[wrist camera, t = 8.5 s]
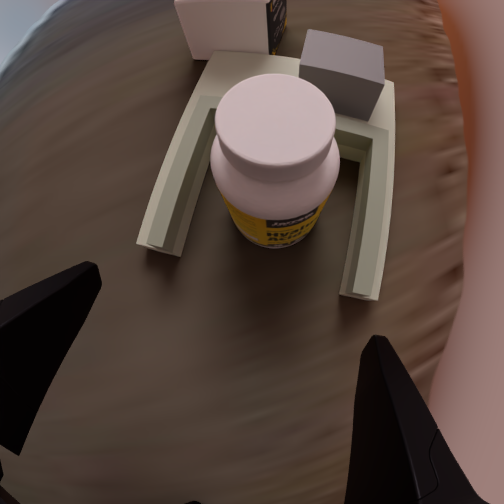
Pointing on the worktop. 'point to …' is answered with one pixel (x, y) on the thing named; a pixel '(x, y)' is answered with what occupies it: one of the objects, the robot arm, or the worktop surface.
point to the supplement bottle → (275, 157)
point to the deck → (346, 135)
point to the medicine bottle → (231, 25)
